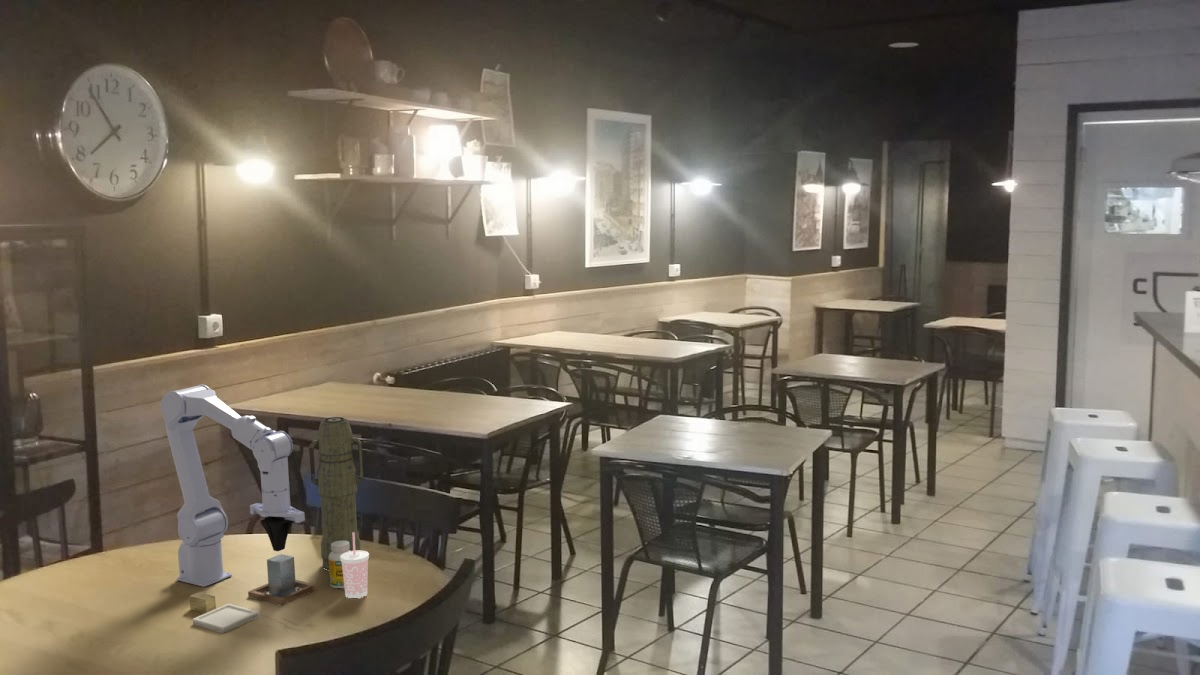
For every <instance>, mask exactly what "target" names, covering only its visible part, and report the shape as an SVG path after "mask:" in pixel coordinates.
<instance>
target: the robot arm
mask: <svg viewBox="0 0 1200 675" xmlns="http://www.w3.org/2000/svg"><path fill="white" fill-rule="evenodd" d="M159 405H160V410H161V414H162V418H163V421H164V427H165V431H166V435H167V439H168V444H169V447H170V450H171V454H172V455H171V456H172V459H173V463H174V467H175V469H176V470H175V471H176V474H177V478H178V482H179V486H180V490H181V494H182V498H183V501H184V503H183V505H182V506H181V507H180V508H179V510H178V512H177V514H176V518H177V534H178V537H179V538H180V541H181V543H180V544H179V546H178V547H179V548H178V550H177V551H178V552H177V556H178V559H177V560H178V571H179V576H178V577H176V580H177V581H180V582H183V583H187V584H191V585H196V586H197V587H198V586H199V587H208V586H210V585H213V584H214V583H217V582H220V581H222V580H224V579H227V578H229V577H232V576H233V574H232V573H231V572H226V571H224V563H223V550H222V548H223V547H222V539H223V538H224V533H225V532H226V531H227V529H228V526H229V518H228V516H227V514H226V512H225V511H224V509H223V507H222V504H221V502H220V500H218V499H216V498H214V497H213V496H211V495H210V492H209V488H208V484H207V480H206V476H205V471H204V469H203V465H202V461H201V457H200V452H199V449H198V445H197V441H196V437H195V434H194V428H195V426H196V424H198V421H200V420H201V419H202V418H203V417H204V416H207V417H208V418H210V419H212V420H213V421H215V422H217V423H219V424H220V425H222V426H224V427H226V428H228V429H230V430H231V436H232V438H233V439H235V440H237V441H238V442H239V443H240V444H242V445H244V446H245V447H246V448H248V449H250V450H251V451H252V454H253V456H254V458H255V460H256V462H257V468H259V471H260V472H259V473H260V483H261V484H260V485H261V486H260V488H261V499H262V501H261V502H262V503H258V502H256V503H253V504H249V514H250V515H256V514H257V515H259V516H260V517H262V518H263V519H261V520H260V524H261V526H262V527H263V529H264V530H265V533H266V534H267V536H268V539H269V541H270V544H271V546H272V550H273V551H274V552H281V551H283V550H285V549H286V543H287V538H288V535H289V531H290V529H291V527H292V526H293V524H294V523H296V524H300V523H302V522H305V520H306V518H305V517H306V516H305V511H302V510H299V509H296V507H293V506H292V505H291V495H290V494H291V492H290V477H289V461H288V460H289V459H288V457H289V456H290V455H291V454H292V453H293V449H294V443H293V440H292V438H291V436H290V435H289V434H288V433H287V432H285V431H284V430H278V431H276V430H272V428H270V427H268V426H266V425H264V424H263V423H262V422H260V421H259V420H257V418H256V416H255V415H242V416H241V415H240V414H239V413H237V411H235V410H233V409H232V408H231V407H229V406H228V405H227V404H226V403H225V402H223V401H222V400H221V399H220V398H218V397H217V393H216V391H215V390H214V389H211V388H210V387H209V386H208V385H206V384H203V383H202V384H198V385H196V386H191V387H187V388H181V389H178V390H170V391H167V392H166V393H165V394H164V396H163V398H162V399H161V401H160V403H159Z"/></svg>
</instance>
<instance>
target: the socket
mask: <svg viewBox="0 0 1200 675" xmlns="http://www.w3.org/2000/svg"><path fill="white" fill-rule="evenodd" d="M295 583H296V588H297V587H298V589H296V591H295V592H293V593H291V594H288V595H286V596H284V597H282V598H281V597H277V596H273V595H269V593H266V592H269V587H268V582H267V583H265V584H263V585H260V586H259V587H256V588H253V589H251V590H249V591H247V594H248V596H247V597H248V598H251V599H255V600H258V601H263V602H266V603H270V604H275V605H276V606H277V605H279V606H283V605H286V604H288V603H290V602H292V601H294V600H297V599H298V598H302V597H303V596H306V595H307V594H309V593H312V592H314V591H316V590H317V584H315V583H311V582H308V581H307V582H306V581H303V580H299V579H295Z"/></svg>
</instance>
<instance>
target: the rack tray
mask: <svg viewBox="0 0 1200 675" xmlns="http://www.w3.org/2000/svg"><path fill="white" fill-rule="evenodd" d="M259 617H260V612H259V610H254V609H251V608H247V607H243V606H240V605H236V604H232V603H226V604H224V605H221V606H220V607H216V609H214V610H212V611H210V612H207V613H202V614H201V615H198V616H196V617H194V618H192V625H193V626H196V627H197V626H198V627H200V628H204V629H208V630H211V631H214V632H218V633H220V634H225V633H227V632H230V631H231V630H234V629H236V628H238V627H240V626H242V625H245V624H247V623H249V622H252V621H253V620H256V619H258V618H259Z"/></svg>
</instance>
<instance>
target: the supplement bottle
mask: <svg viewBox="0 0 1200 675" xmlns="http://www.w3.org/2000/svg"><path fill="white" fill-rule="evenodd" d="M349 548H350V545H349V542H348V541H336V542H333V543H331V550H332V552H331V553H330V554H329V571H328V572H329V583H330V584H329V585H330V587H332V588H333V587H334V589H337V588H341V589H345V586H344V578H343V569H342V562H341V561H340V556H341V554H343V553H345V552H348V551H350V550H349Z"/></svg>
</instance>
